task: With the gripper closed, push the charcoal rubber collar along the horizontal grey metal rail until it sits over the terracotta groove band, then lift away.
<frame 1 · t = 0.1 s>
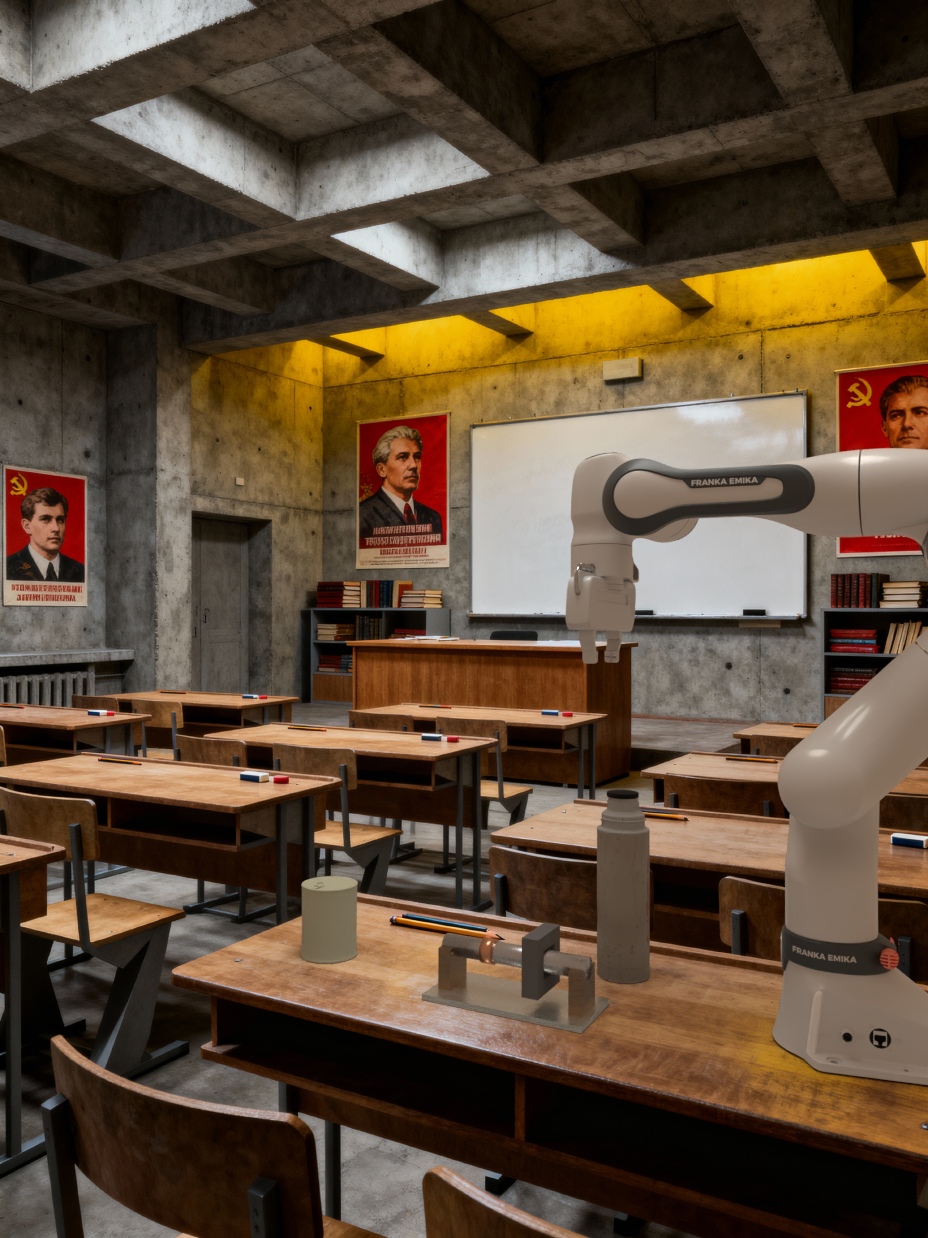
hand: (601, 663, 133), 48 cm above the table, tool pointing down, fingers open, 8 cm apart
can: (329, 955, 150), on the table
rail: (514, 1002, 130), on the table
thermos bottle: (623, 975, 141), on the table
collar: (541, 960, 128), point 7 cm above the table, slide at 2.0 cm
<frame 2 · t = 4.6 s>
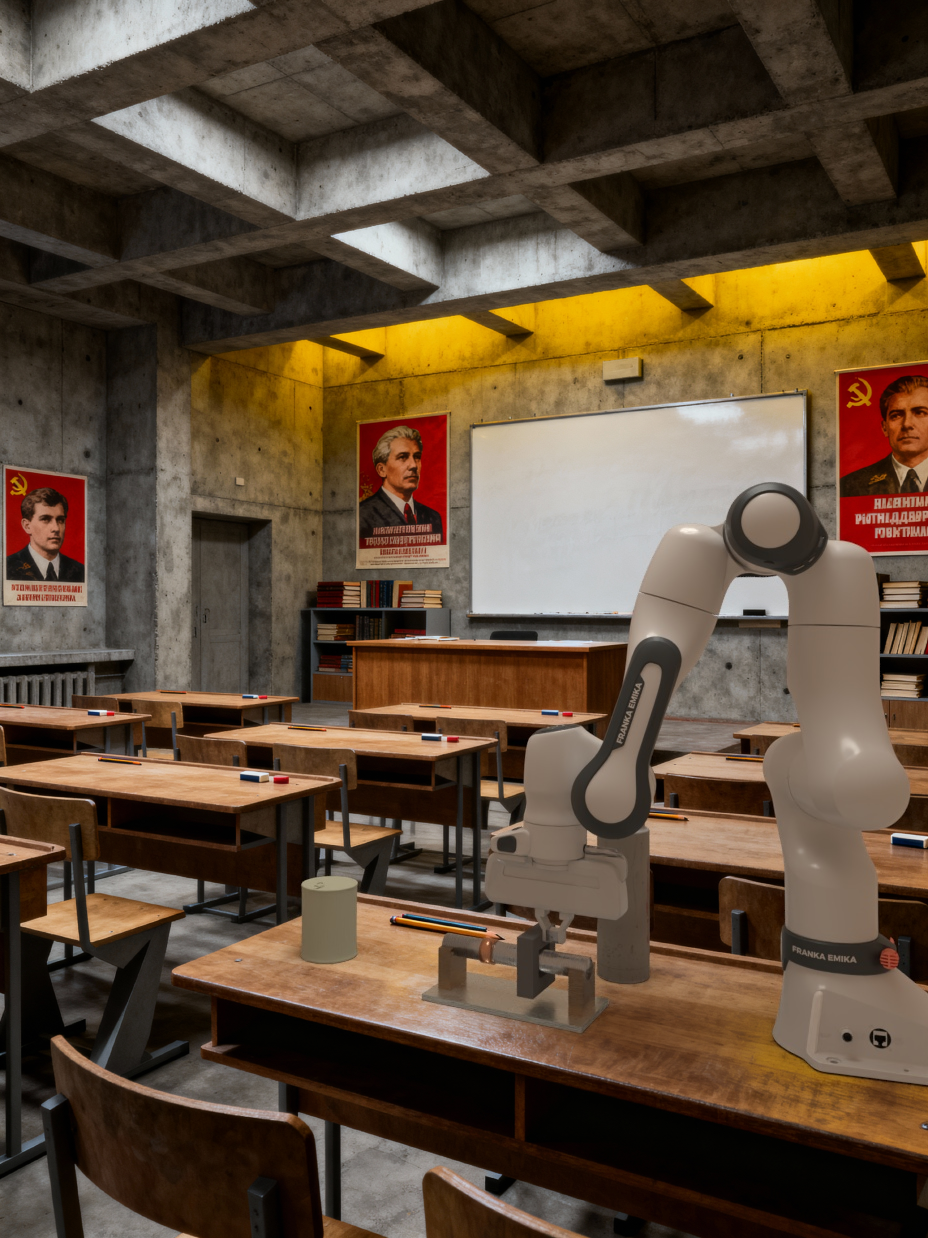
hand: (554, 942, 127), 9 cm above the table, tool pointing down, fingers closed
collar: (536, 959, 129), point 7 cm above the table, slide at 2.7 cm, touching gripper
everything else where it was.
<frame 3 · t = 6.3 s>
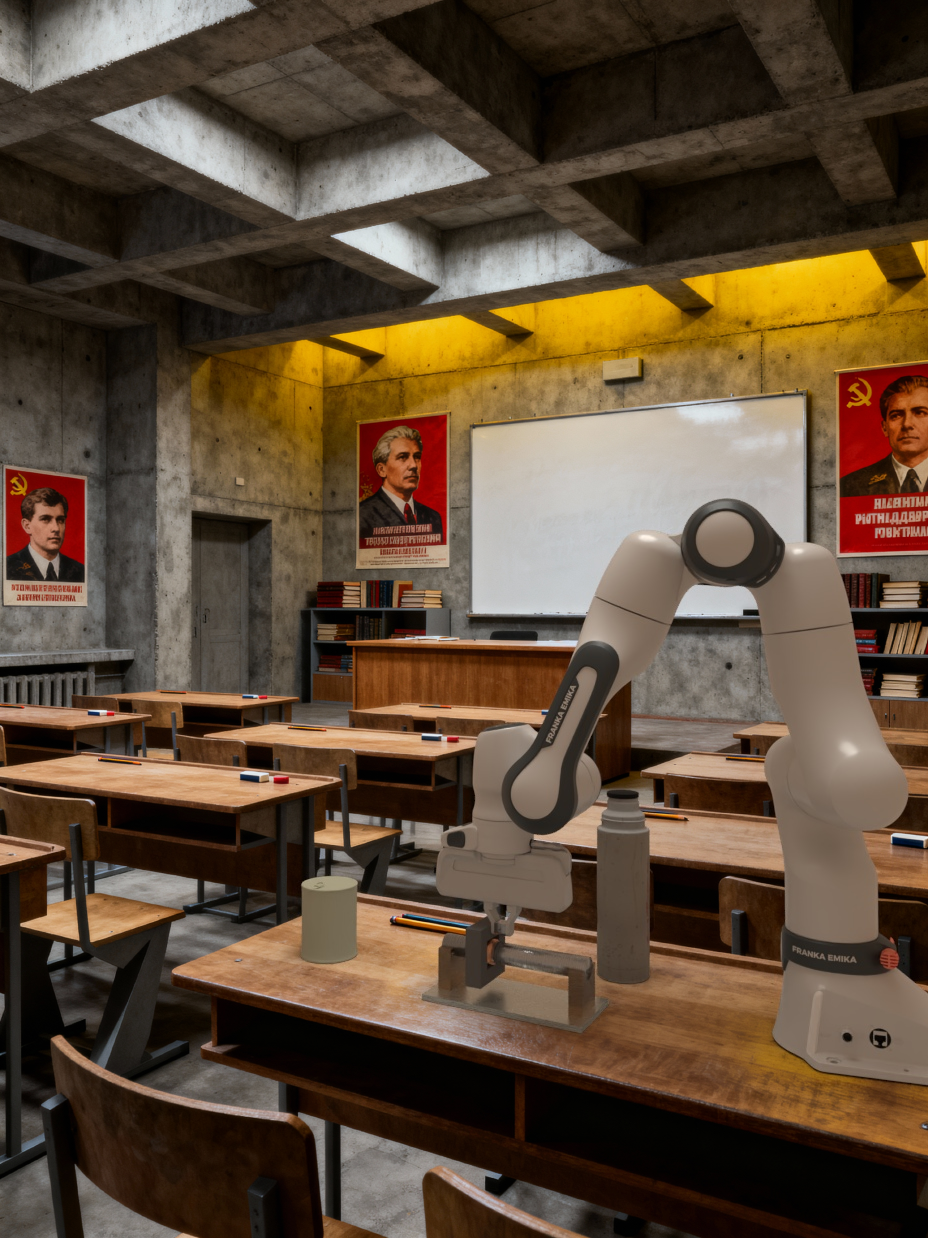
hand: (502, 934, 131), 9 cm above the table, tool pointing down, fingers closed
collar: (485, 950, 132), point 7 cm above the table, slide at 10.6 cm, touching gripper
everything else where it was.
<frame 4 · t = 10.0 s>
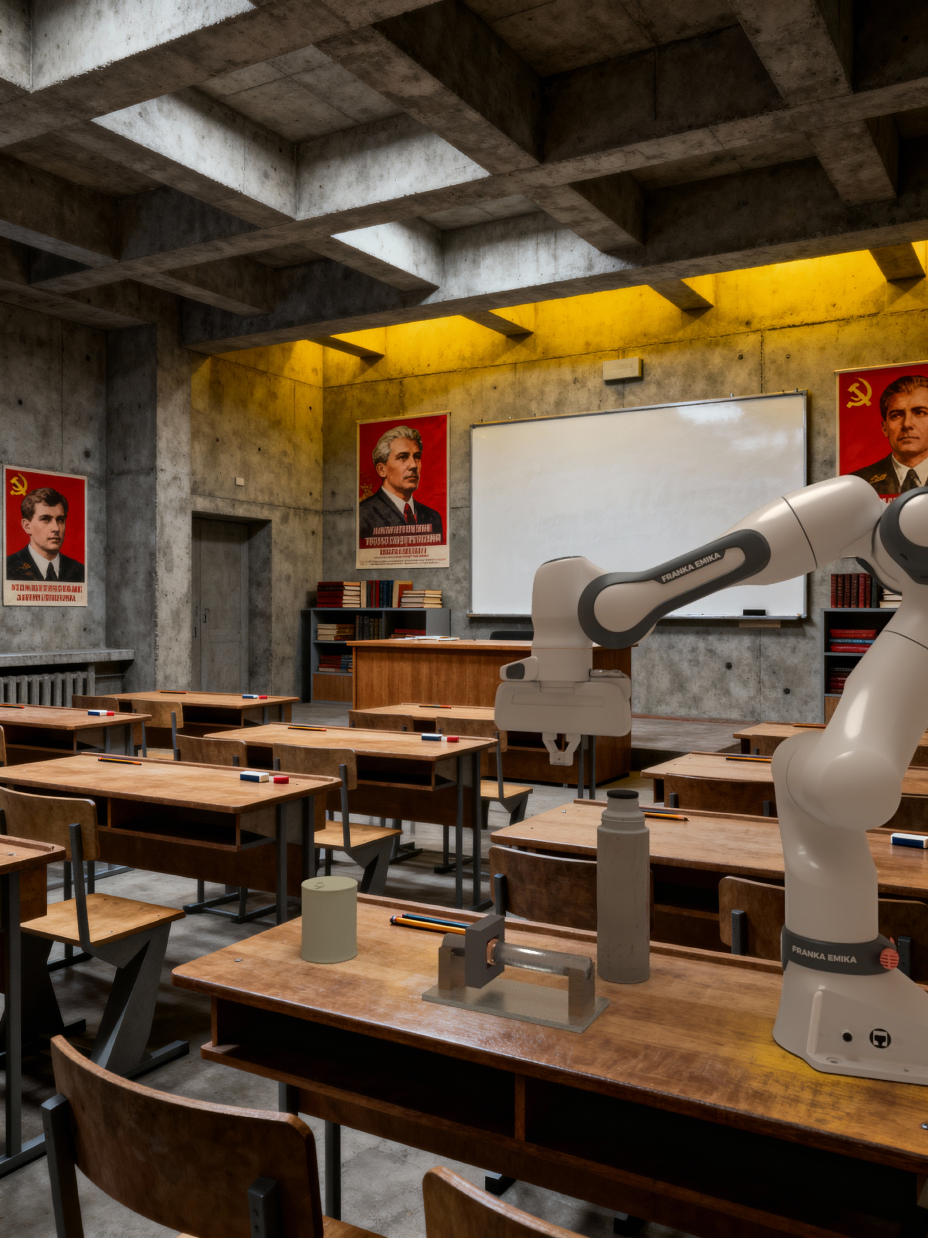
hand: (561, 764, 133), 33 cm above the table, tool pointing down, fingers closed
collar: (485, 950, 132), point 7 cm above the table, slide at 10.7 cm
everything else where it was.
at the end: collar slide at 10.7 cm; collar moved 8.7 cm from its start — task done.
